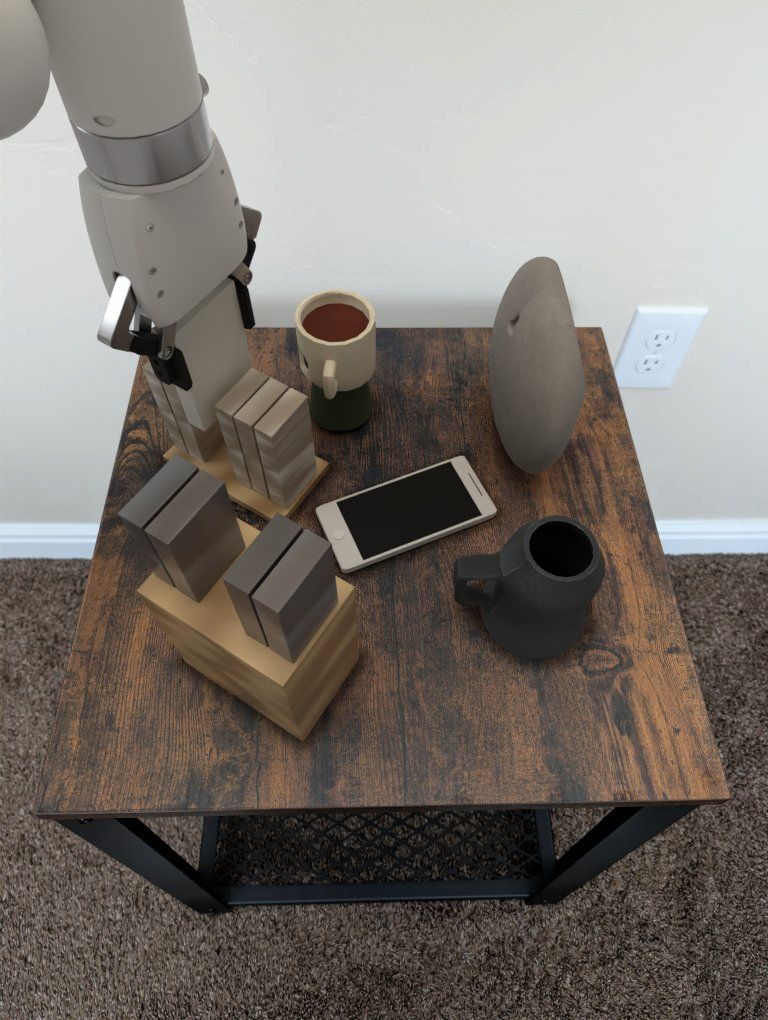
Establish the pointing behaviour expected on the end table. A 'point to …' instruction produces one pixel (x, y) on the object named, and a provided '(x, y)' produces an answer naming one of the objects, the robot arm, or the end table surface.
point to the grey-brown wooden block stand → (249, 442)
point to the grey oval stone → (535, 367)
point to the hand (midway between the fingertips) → (207, 349)
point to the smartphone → (404, 513)
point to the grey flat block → (212, 352)
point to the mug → (535, 586)
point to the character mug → (337, 356)
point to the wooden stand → (244, 596)
